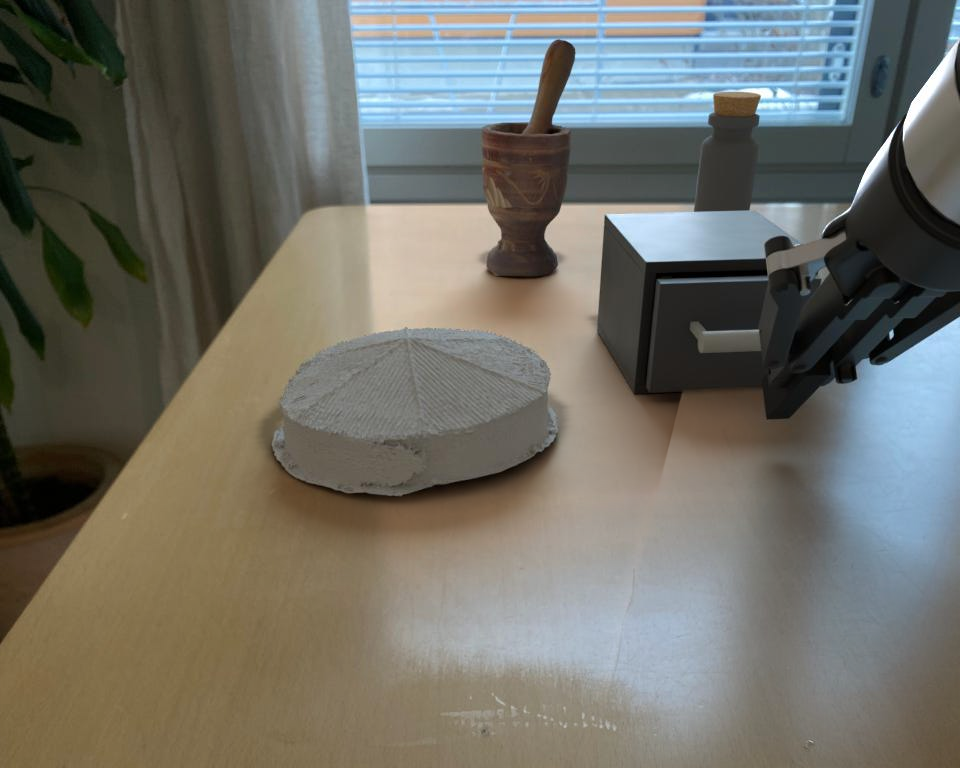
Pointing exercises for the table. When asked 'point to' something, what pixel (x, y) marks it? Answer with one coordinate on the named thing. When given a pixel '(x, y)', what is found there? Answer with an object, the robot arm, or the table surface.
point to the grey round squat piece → (414, 411)
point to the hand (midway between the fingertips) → (775, 399)
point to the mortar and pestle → (528, 174)
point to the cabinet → (666, 269)
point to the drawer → (707, 330)
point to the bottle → (729, 154)
